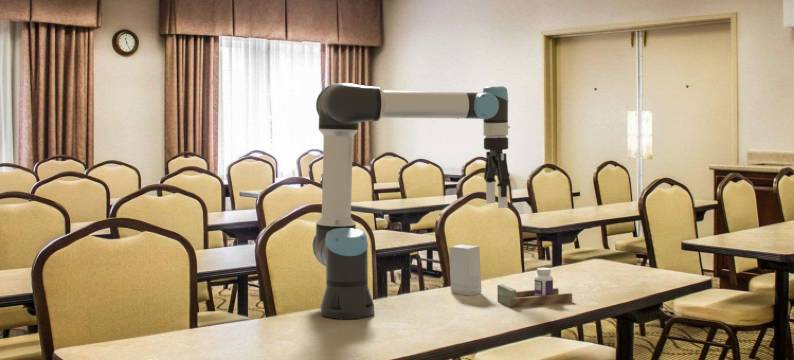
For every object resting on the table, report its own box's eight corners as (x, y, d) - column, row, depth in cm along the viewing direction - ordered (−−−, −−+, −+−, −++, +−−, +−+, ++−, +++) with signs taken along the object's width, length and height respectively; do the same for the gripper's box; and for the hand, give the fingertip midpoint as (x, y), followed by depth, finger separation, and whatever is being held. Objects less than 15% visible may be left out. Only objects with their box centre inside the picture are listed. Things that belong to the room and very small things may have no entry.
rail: (511, 307, 259) (511, 290, 259) (497, 301, 268) (497, 284, 267) (572, 301, 266) (572, 285, 266) (556, 296, 274) (556, 279, 274)
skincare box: (481, 293, 279) (481, 246, 278) (468, 296, 275) (468, 248, 274) (461, 289, 285) (461, 243, 284) (448, 292, 281) (448, 245, 280)
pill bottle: (552, 299, 270) (552, 267, 269) (553, 303, 265) (553, 270, 264) (534, 298, 271) (534, 266, 270) (534, 302, 265) (535, 270, 265)
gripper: (519, 137, 266) (520, 209, 268) (496, 135, 290) (497, 200, 292) (495, 138, 265) (496, 210, 266) (473, 135, 289) (474, 201, 291)
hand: (496, 205), depth 279 cm, fingers open, 13 cm apart
